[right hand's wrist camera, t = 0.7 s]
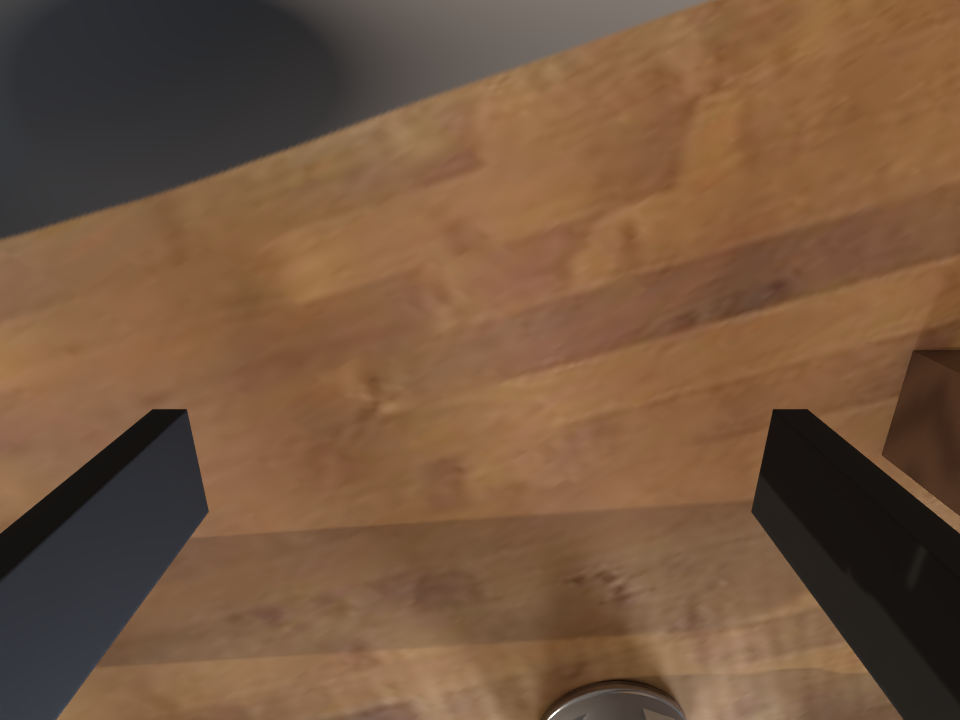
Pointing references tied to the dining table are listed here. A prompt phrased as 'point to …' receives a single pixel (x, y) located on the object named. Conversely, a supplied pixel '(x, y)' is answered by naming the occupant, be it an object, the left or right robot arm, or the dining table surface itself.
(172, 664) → the dining table surface
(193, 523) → the right robot arm
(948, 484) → the walnut beam
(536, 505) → the dining table surface
